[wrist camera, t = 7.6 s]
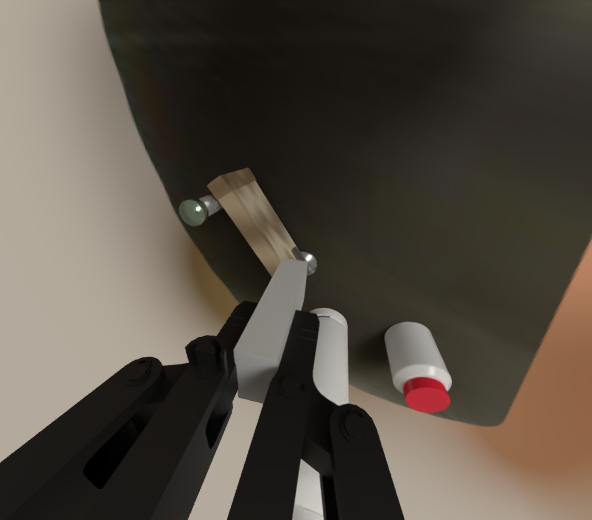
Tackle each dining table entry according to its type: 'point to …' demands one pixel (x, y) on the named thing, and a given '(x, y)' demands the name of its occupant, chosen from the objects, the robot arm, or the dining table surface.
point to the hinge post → (309, 261)
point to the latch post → (199, 209)
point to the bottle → (334, 386)
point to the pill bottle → (417, 367)
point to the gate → (254, 218)
